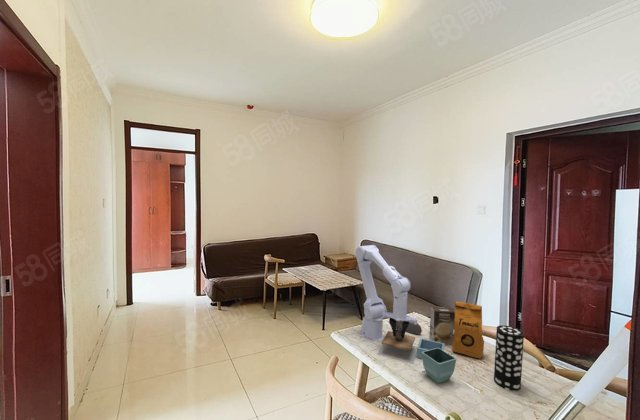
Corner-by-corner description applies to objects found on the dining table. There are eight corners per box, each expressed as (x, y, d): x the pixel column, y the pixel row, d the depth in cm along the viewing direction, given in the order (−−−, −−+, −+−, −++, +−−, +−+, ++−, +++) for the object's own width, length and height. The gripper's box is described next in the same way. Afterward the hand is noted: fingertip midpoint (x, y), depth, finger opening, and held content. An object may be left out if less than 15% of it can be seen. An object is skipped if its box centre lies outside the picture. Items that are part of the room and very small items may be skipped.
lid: (381, 343, 125) (381, 332, 125) (388, 332, 135) (388, 322, 135) (410, 351, 119) (410, 339, 119) (415, 338, 130) (415, 328, 130)
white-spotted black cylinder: (521, 394, 101) (524, 338, 100) (493, 385, 106) (496, 331, 105) (520, 381, 108) (523, 329, 107) (494, 374, 113) (496, 323, 112)
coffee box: (432, 345, 134) (434, 310, 133) (428, 338, 140) (430, 305, 139) (453, 346, 133) (455, 312, 132) (448, 339, 139) (450, 306, 138)
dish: (416, 358, 122) (417, 348, 122) (420, 347, 131) (420, 338, 131) (442, 365, 118) (442, 354, 118) (444, 353, 127) (444, 343, 126)
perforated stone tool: (423, 335, 144) (424, 321, 143) (418, 338, 140) (419, 324, 140) (397, 324, 155) (397, 311, 154) (391, 327, 151) (392, 314, 151)
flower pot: (420, 374, 112) (421, 351, 111) (437, 369, 115) (438, 347, 115) (438, 388, 103) (439, 363, 103) (455, 382, 107) (457, 358, 107)
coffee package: (482, 362, 121) (485, 310, 119) (450, 353, 127) (452, 303, 126) (484, 352, 129) (486, 303, 128) (453, 343, 136) (455, 297, 134)
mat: (376, 355, 124) (376, 354, 124) (385, 339, 138) (385, 339, 138) (413, 364, 118) (413, 363, 118) (418, 347, 131) (418, 347, 131)
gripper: (381, 305, 126) (380, 336, 127) (416, 312, 120) (414, 344, 121) (385, 300, 133) (384, 329, 133) (418, 307, 126) (417, 337, 127)
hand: (398, 336), depth 127 cm, fingers closed on lid, 3 cm apart
